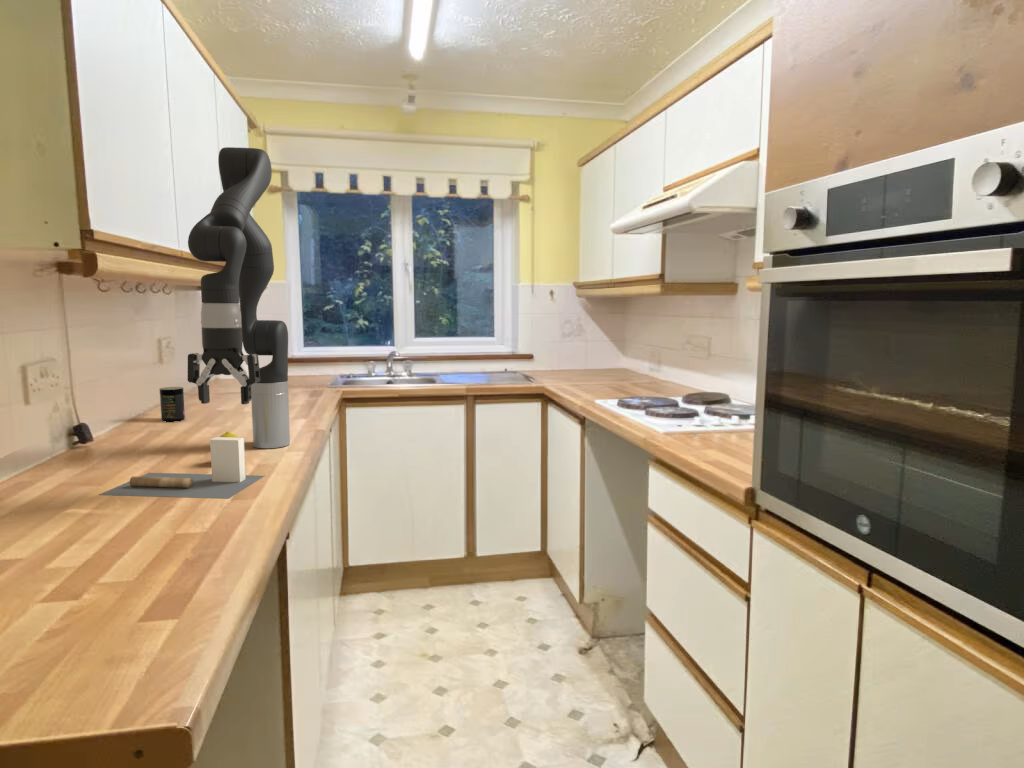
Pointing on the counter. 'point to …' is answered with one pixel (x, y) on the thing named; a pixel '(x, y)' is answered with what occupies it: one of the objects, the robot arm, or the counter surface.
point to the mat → (199, 489)
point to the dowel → (161, 482)
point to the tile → (227, 459)
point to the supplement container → (172, 404)
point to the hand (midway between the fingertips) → (225, 403)
